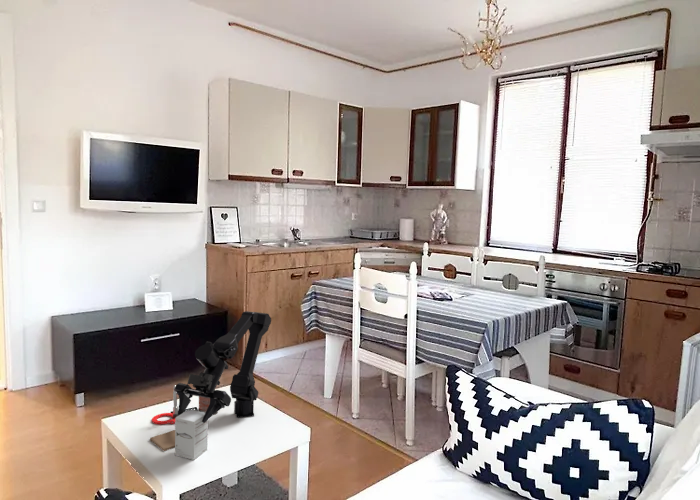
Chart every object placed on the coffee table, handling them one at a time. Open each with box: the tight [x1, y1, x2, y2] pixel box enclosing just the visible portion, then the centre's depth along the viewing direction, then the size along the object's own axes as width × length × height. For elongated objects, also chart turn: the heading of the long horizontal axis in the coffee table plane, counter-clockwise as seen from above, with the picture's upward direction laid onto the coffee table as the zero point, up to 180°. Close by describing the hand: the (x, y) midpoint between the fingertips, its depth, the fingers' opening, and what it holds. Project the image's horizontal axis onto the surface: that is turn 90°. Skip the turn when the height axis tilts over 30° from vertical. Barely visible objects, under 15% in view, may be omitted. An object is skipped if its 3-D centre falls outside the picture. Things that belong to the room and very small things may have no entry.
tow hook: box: [151, 385, 179, 425], centre depth 180 cm, size 8×13×9 cm
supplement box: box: [174, 409, 209, 461], centre depth 157 cm, size 7×7×13 cm
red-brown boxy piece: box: [197, 389, 219, 416], centre depth 188 cm, size 8×3×10 cm, turn 71°
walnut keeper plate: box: [149, 429, 175, 452], centre depth 165 cm, size 10×10×1 cm
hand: (190, 419), depth 156 cm, fingers open, 9 cm apart
